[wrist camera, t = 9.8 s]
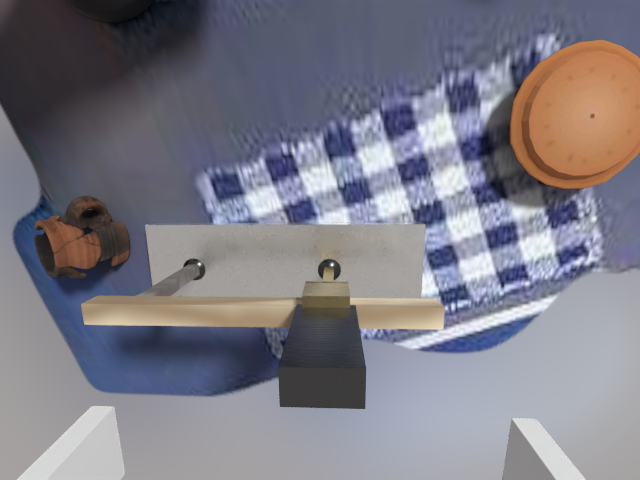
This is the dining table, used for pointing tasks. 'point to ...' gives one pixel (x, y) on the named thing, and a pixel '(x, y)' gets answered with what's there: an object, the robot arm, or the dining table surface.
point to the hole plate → (289, 257)
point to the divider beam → (246, 309)
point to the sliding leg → (323, 350)
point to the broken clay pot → (80, 239)
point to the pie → (578, 115)
